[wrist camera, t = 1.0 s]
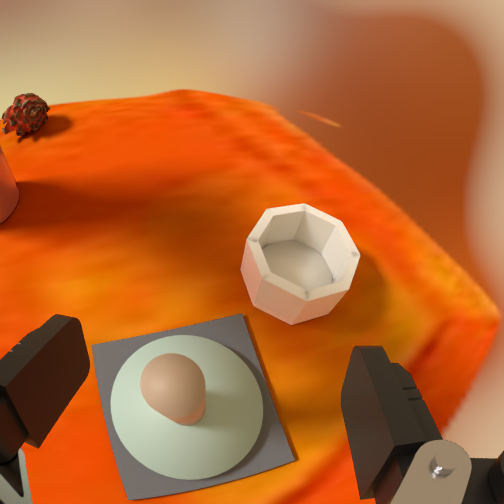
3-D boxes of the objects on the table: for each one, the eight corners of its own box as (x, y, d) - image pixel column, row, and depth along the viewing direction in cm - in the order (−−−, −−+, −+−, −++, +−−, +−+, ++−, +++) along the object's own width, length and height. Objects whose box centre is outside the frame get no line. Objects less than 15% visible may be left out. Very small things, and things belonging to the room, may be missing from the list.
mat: (93, 346, 29) (91, 344, 28) (241, 315, 33) (242, 313, 33) (129, 499, 21) (128, 500, 20) (293, 460, 25) (294, 460, 25)
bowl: (232, 246, 38) (237, 213, 33) (314, 231, 41) (329, 199, 36) (262, 333, 32) (274, 310, 27) (351, 306, 35) (374, 281, 31)
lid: (101, 352, 28) (48, 294, 17) (235, 324, 32) (254, 253, 21) (135, 489, 21) (87, 518, 10) (281, 454, 25) (333, 461, 14)
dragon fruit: (54, 138, 48) (14, 144, 49) (63, 97, 48) (23, 107, 48) (26, 125, 39) (-13, 134, 40) (38, 80, 39) (-2, 94, 40)
